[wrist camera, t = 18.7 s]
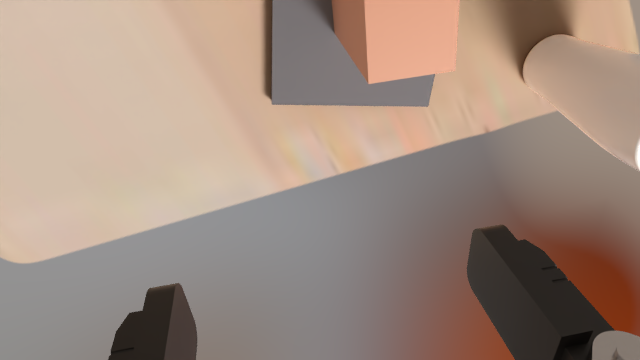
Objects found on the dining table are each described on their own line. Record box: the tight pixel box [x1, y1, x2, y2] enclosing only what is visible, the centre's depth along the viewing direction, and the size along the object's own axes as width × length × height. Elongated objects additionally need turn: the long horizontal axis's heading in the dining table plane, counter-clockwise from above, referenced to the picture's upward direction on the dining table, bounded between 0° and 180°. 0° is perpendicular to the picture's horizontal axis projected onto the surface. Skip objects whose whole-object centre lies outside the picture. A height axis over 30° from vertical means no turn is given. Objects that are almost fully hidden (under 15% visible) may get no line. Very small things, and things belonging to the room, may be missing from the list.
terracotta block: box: [332, 0, 460, 84], centre depth 28 cm, size 5×5×12 cm
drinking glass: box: [523, 34, 640, 171], centre depth 33 cm, size 7×7×15 cm
